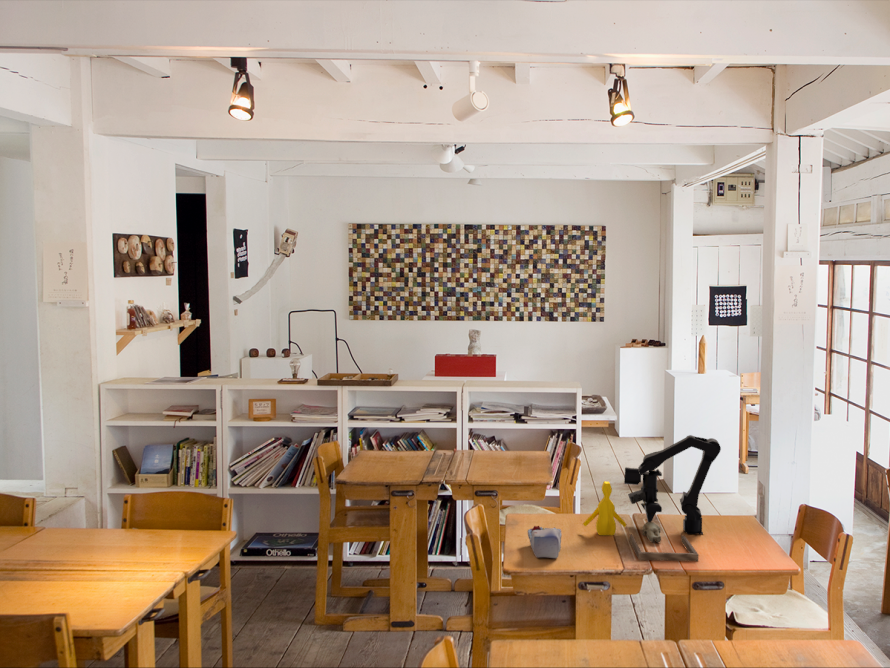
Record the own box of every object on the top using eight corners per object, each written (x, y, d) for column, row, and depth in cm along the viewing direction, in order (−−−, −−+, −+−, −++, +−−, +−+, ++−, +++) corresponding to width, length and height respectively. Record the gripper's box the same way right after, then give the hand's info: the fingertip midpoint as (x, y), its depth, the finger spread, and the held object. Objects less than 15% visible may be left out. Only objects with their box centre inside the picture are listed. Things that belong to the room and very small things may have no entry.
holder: (684, 541, 294) (684, 535, 293) (698, 561, 273) (698, 554, 273) (629, 540, 295) (629, 534, 295) (638, 559, 275) (638, 553, 274)
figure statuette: (625, 531, 306) (626, 478, 305) (629, 537, 298) (630, 483, 297) (581, 530, 307) (582, 478, 305) (584, 537, 299) (585, 483, 298)
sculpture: (667, 546, 291) (658, 531, 305) (667, 535, 290) (657, 519, 305) (648, 547, 291) (640, 531, 306) (648, 535, 290) (640, 520, 305)
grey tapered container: (531, 532, 273) (526, 516, 293) (531, 561, 274) (526, 543, 294) (567, 532, 273) (559, 516, 293) (567, 561, 273) (559, 543, 293)
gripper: (626, 479, 318) (625, 515, 319) (633, 491, 299) (633, 529, 300) (652, 479, 317) (652, 515, 318) (662, 491, 299) (661, 530, 300)
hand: (649, 522), depth 309 cm, fingers closed
